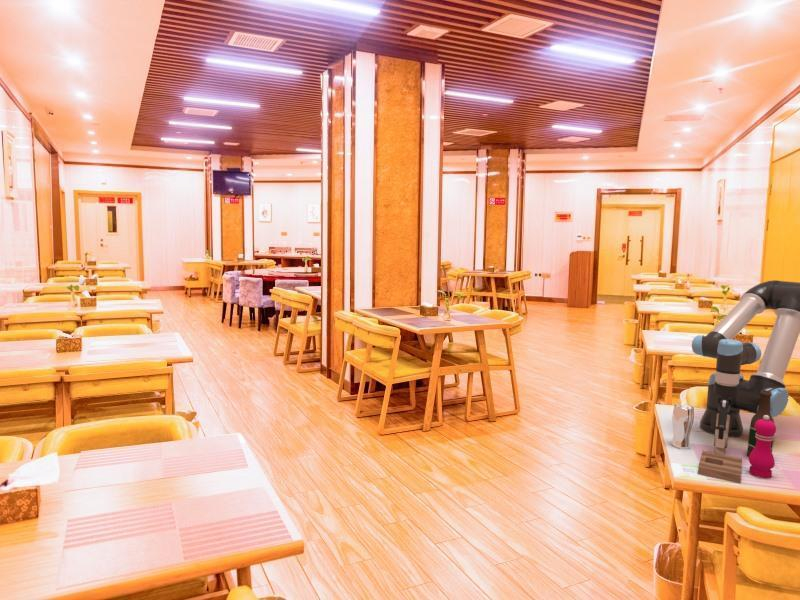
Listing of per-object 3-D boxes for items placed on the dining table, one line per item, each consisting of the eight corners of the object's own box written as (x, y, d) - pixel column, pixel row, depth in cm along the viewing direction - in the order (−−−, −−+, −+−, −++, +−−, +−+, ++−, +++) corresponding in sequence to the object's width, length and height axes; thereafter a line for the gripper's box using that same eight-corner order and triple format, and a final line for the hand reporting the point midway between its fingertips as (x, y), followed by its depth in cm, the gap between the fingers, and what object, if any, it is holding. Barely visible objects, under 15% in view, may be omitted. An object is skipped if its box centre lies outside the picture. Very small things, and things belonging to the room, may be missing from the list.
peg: (713, 449, 211) (717, 412, 209) (726, 452, 209) (730, 414, 207) (712, 453, 207) (716, 415, 206) (725, 456, 205) (729, 417, 204)
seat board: (702, 457, 204) (702, 450, 204) (741, 465, 198) (742, 457, 197) (697, 473, 190) (698, 466, 189) (740, 483, 183) (741, 475, 183)
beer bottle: (766, 454, 207) (773, 389, 204) (775, 463, 200) (783, 395, 197) (742, 452, 209) (749, 387, 206) (750, 461, 201) (758, 393, 198)
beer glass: (665, 442, 217) (669, 403, 215) (682, 441, 218) (685, 403, 216) (678, 449, 210) (682, 409, 208) (695, 448, 211) (699, 408, 210)
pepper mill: (777, 479, 186) (783, 419, 184) (752, 477, 188) (758, 417, 185) (767, 470, 194) (774, 412, 191) (744, 468, 195) (750, 410, 192)
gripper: (716, 374, 217) (711, 429, 220) (712, 389, 196) (706, 450, 199) (739, 377, 214) (734, 433, 216) (737, 393, 192) (731, 455, 195)
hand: (720, 441), depth 208 cm, fingers open, 13 cm apart
